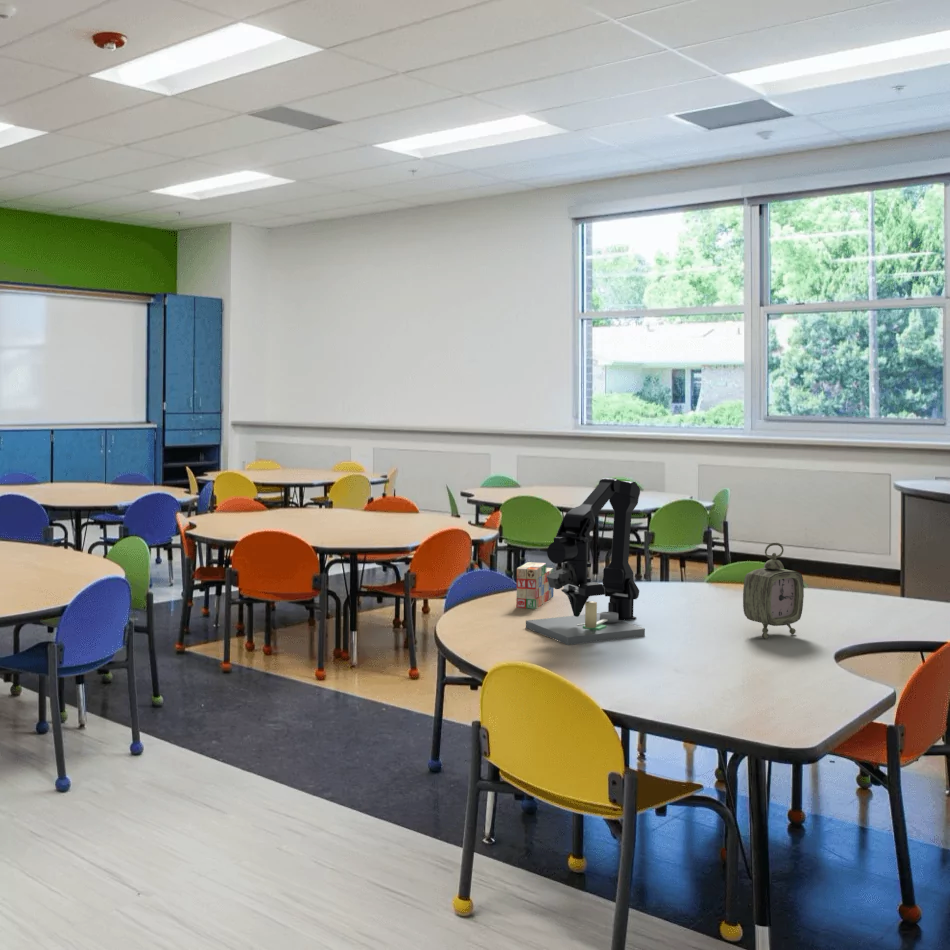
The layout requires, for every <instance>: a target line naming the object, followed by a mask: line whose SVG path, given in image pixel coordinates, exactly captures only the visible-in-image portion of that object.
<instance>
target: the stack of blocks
mask: <svg viewBox="0 0 950 950" xmlns="http://www.w3.org/2000/svg"><path fill="white" fill-rule="evenodd" d="M553 572H554V567H547V563H546V562H533V561H532V562H530V561H527V562H526V563H523V564H522V565H520V566H518V567H517V568H516V599H515V600H516V604H515V605H516V608H518V609H535V610H536V609H538V608H540V607H541V606H542V605H544V604H545V603H546V602H547V601H549V600H551V599H552V598H553V597H554V589H555V588H553V587H550V586H549V583H548V580H547V575H549V574H551V573H553ZM548 599H549V600H548ZM544 602H545V603H544ZM543 603H544V604H543Z"/></svg>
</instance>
